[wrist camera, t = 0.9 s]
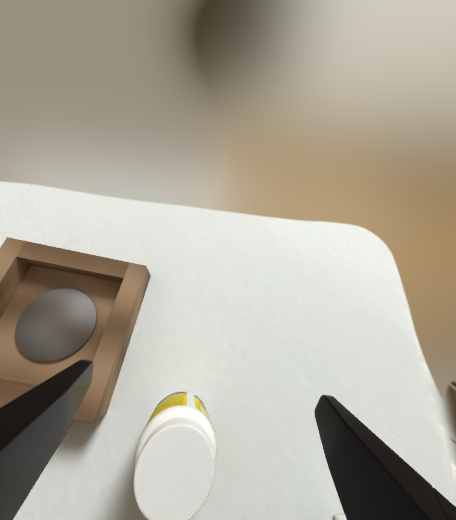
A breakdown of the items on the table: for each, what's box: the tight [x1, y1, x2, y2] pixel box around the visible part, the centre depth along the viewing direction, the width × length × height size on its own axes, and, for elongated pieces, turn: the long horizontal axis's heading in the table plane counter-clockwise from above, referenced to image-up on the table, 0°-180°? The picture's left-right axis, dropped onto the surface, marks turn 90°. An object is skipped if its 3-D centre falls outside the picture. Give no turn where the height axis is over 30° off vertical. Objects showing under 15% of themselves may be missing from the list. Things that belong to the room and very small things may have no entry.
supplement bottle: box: [133, 392, 217, 520], centre depth 15 cm, size 5×5×8 cm
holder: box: [0, 237, 151, 422], centre depth 19 cm, size 12×12×3 cm
